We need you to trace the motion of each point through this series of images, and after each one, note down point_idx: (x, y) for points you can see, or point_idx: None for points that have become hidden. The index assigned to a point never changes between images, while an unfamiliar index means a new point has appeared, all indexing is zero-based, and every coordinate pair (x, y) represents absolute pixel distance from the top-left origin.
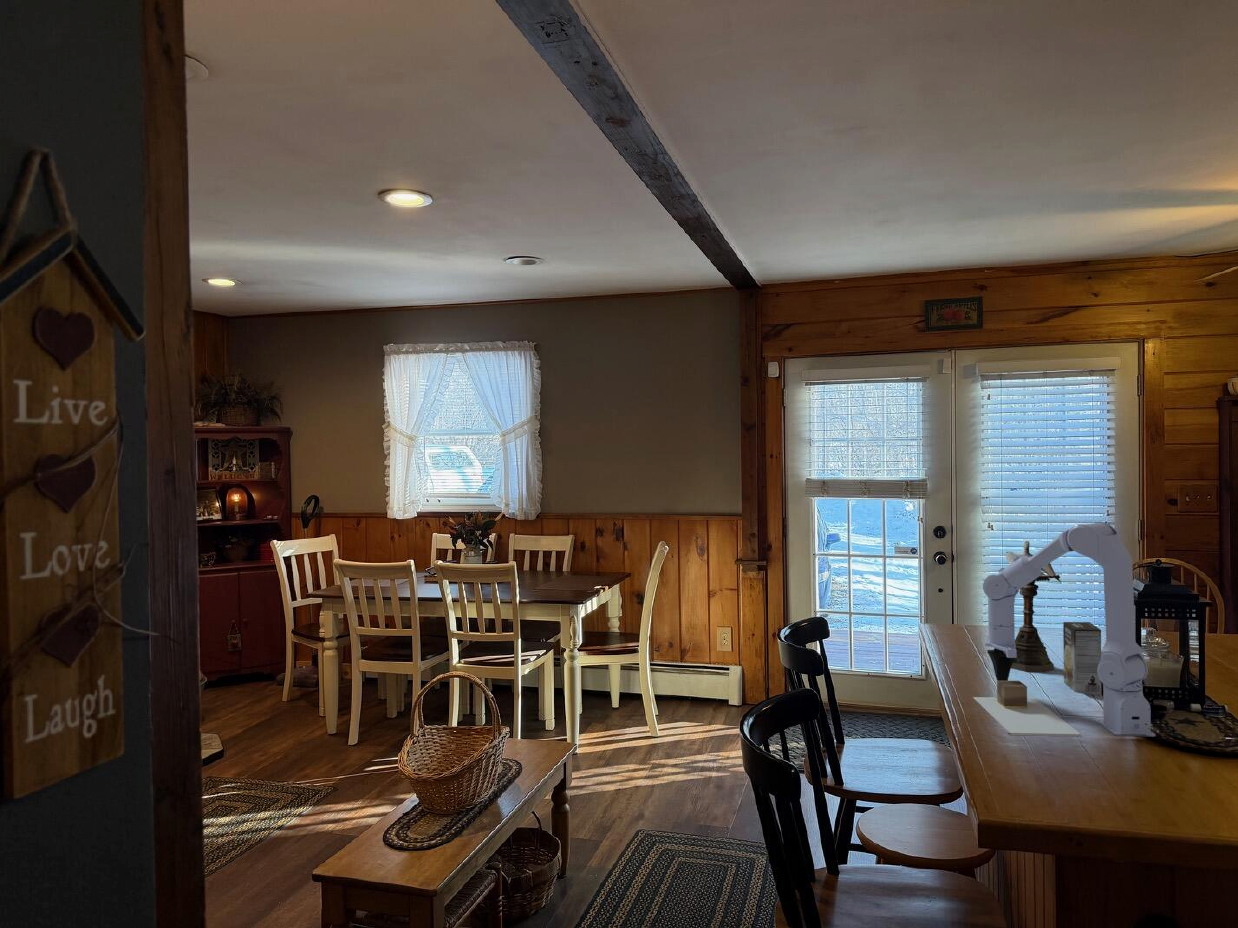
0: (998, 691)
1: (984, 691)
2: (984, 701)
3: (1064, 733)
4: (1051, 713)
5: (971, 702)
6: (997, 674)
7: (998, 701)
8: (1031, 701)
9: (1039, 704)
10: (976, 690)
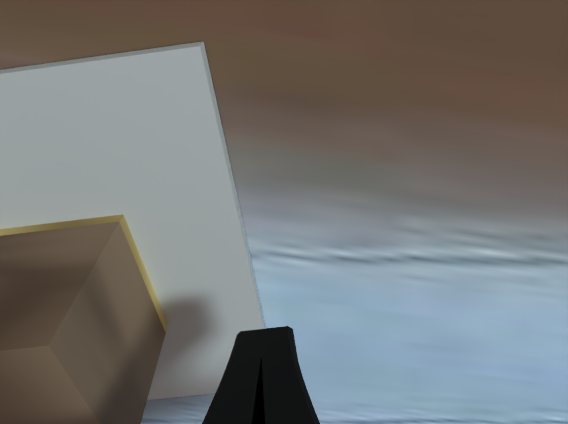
0: (52, 275)
1: (463, 172)
2: (89, 126)
3: None
4: None
5: (102, 12)
6: (218, 387)
7: (89, 222)
8: (200, 370)
9: (153, 389)
10: (497, 118)
